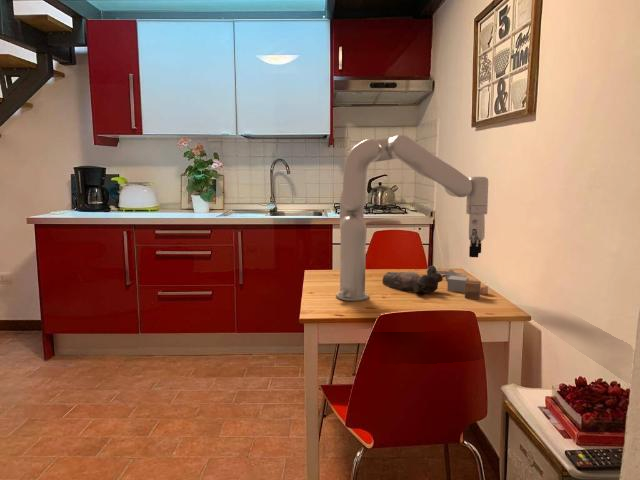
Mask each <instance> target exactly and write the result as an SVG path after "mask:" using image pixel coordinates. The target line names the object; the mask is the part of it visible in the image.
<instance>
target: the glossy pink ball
mask: <svg viewBox="0 0 640 480" xmlns="http://www.w3.org/2000/svg"><path fill="white" fill-rule="evenodd" d="M487 295H489V286H487V285H480V296H487Z"/></svg>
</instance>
